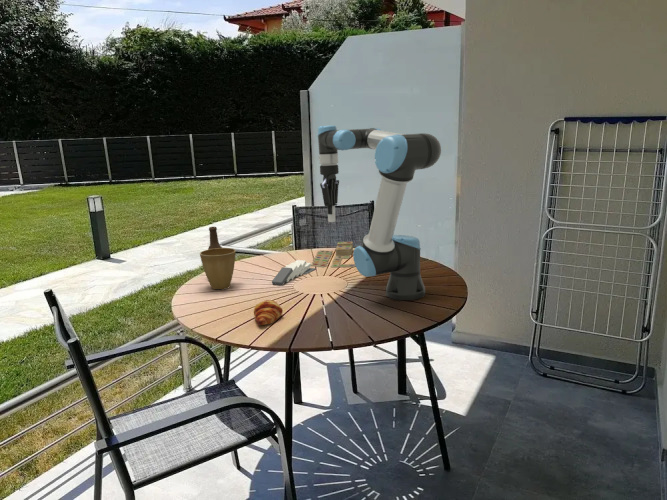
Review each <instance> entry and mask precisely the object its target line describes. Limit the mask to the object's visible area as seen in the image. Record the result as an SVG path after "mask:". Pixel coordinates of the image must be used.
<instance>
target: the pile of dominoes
mask: <svg viewBox="0 0 667 500" xmlns="http://www.w3.org/2000/svg"><path fill="white" fill-rule="evenodd" d="M353 243H354V242H353V241H338V242H337V244H336V248H335V256H334V258H333V260H332V261H331V262H332V263H331V265H330V268H331V269H332V268H333V269H336V268H344V269H345V268H356V266H355V263H351V264H350V263H348V264H341V262H342V260H350V259H351V256H352V254H353V252H354V247H353V246H354V244H353ZM352 251H353V252H352ZM332 252H333V250H321V249H320V250H317V253H316V255H315V257H313V260H312V262H311V267H316V268H326V267H328V264H329V263H330V260H331V257H332V255H333V253H334V252H333V253H332ZM350 255H351V256H350ZM349 258H350V259H349Z"/></svg>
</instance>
